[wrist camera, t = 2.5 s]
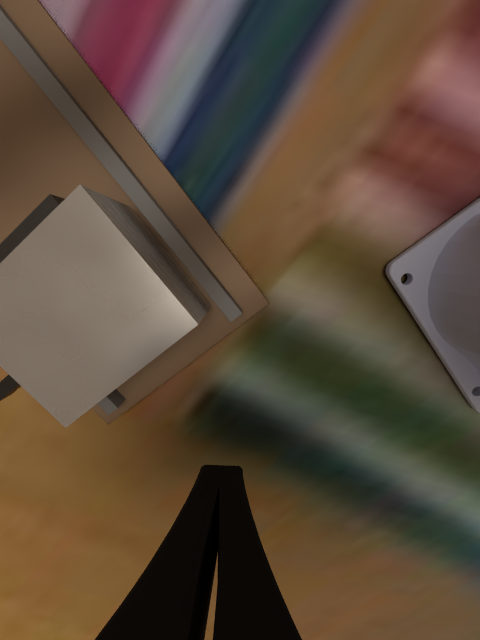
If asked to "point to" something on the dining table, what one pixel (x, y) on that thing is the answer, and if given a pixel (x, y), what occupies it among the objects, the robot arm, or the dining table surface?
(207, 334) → the base
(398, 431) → the dining table surface
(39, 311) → the block
